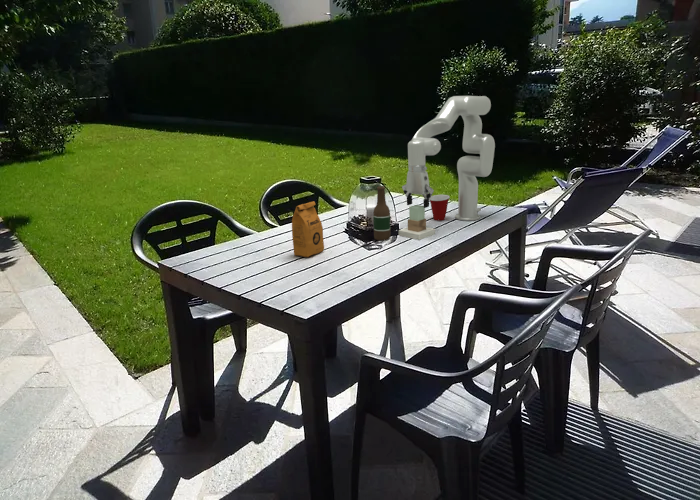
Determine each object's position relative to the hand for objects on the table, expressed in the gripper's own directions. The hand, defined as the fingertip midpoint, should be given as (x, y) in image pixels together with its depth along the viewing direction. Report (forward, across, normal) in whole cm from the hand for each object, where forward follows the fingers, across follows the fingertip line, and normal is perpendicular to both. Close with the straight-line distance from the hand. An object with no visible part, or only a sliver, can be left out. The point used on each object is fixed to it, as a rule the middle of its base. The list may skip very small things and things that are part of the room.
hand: (417, 205), depth 232 cm
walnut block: (+11, 0, +1) cm, 11 cm away
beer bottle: (+13, +9, +15) cm, 22 cm away
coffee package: (+12, +18, +51) cm, 56 cm away
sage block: (+6, 0, +1) cm, 6 cm away
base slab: (+14, 0, +1) cm, 14 cm away
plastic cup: (+15, +9, -28) cm, 33 cm away
